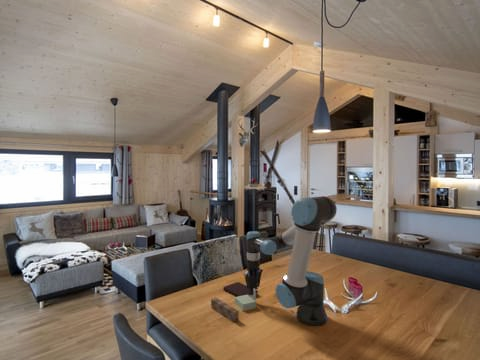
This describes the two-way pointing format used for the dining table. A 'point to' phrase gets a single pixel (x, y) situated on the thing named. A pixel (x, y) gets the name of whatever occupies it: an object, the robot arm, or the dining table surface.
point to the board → (225, 309)
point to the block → (245, 302)
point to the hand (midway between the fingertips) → (253, 300)
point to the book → (238, 289)
